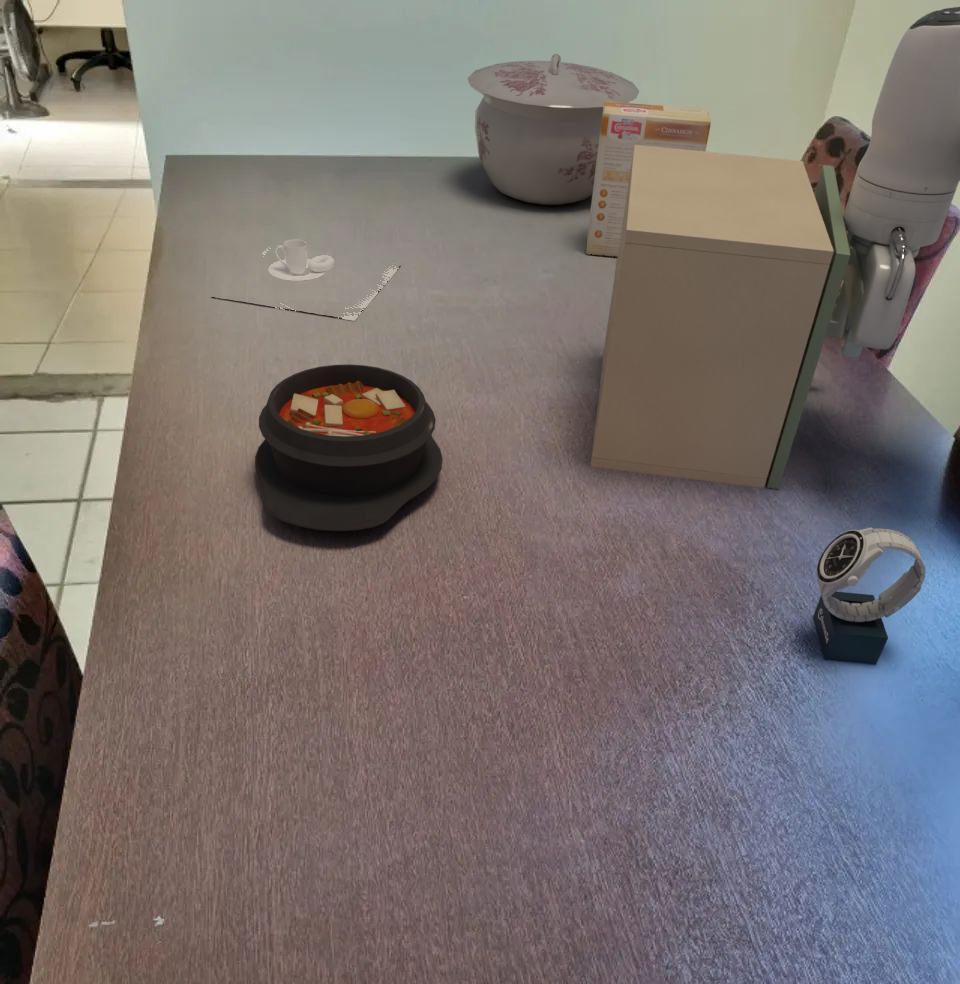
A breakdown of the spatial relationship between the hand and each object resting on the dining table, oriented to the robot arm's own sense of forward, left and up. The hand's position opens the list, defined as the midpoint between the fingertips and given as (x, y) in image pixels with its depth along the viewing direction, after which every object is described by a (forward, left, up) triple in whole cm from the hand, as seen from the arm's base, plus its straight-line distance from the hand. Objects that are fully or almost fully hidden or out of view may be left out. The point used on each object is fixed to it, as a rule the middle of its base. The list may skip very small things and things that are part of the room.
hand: (848, 351), depth 99 cm
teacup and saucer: (+65, -30, -12) cm, 73 cm away
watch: (+1, +32, -12) cm, 35 cm away
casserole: (+48, +16, -12) cm, 53 cm away
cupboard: (+15, -4, -11) cm, 20 cm away
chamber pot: (+37, -77, -12) cm, 86 cm away
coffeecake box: (+21, -54, -12) cm, 59 cm away
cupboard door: (+2, -3, -11) cm, 12 cm away
